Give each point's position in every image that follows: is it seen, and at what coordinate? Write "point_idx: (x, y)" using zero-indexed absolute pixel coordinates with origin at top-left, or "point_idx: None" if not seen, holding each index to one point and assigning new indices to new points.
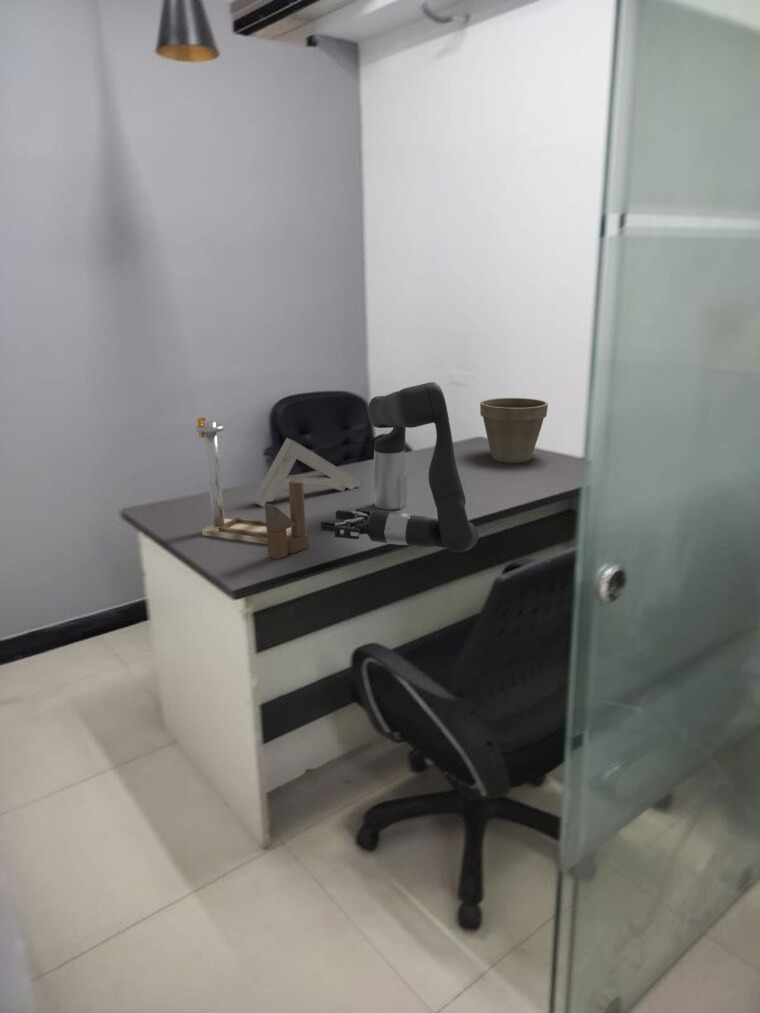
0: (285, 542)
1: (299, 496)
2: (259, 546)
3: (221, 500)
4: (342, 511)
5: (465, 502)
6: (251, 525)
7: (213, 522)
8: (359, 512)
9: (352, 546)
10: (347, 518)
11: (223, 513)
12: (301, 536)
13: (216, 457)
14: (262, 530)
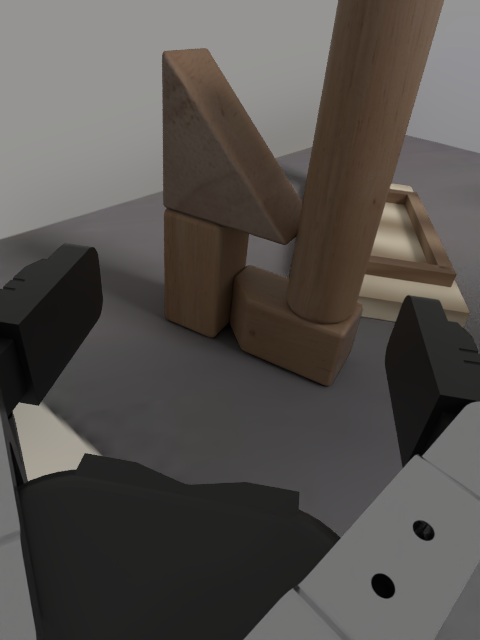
0: (205, 280)
1: (345, 74)
2: (281, 266)
3: None
4: (423, 332)
5: None
6: (401, 223)
7: None
8: (440, 529)
9: (468, 619)
10: (406, 432)
11: None
12: (298, 314)
13: None
14: (377, 244)
